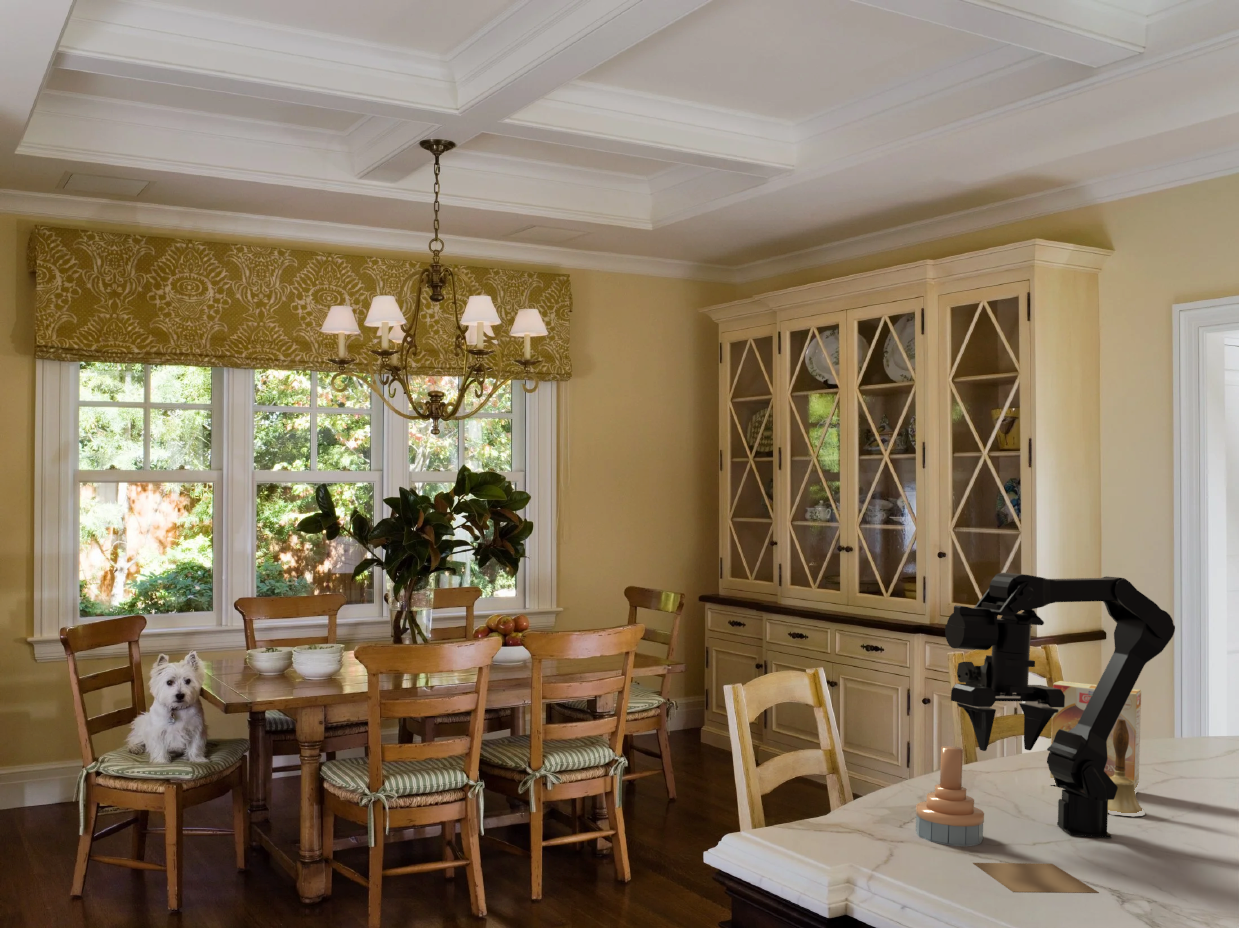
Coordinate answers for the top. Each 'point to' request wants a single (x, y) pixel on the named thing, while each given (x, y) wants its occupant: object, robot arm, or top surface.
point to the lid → (950, 795)
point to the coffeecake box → (1131, 713)
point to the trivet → (1034, 878)
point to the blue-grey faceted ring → (949, 833)
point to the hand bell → (1122, 774)
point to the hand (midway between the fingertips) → (1005, 750)
